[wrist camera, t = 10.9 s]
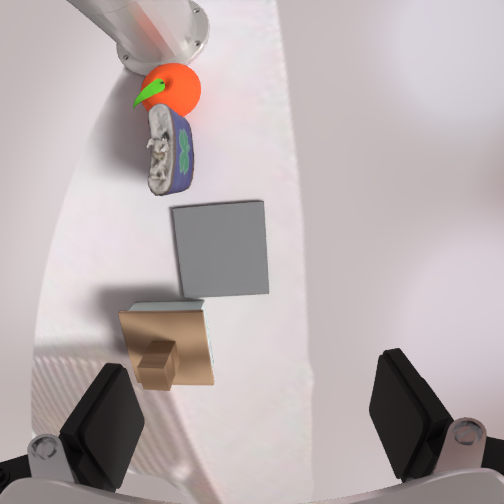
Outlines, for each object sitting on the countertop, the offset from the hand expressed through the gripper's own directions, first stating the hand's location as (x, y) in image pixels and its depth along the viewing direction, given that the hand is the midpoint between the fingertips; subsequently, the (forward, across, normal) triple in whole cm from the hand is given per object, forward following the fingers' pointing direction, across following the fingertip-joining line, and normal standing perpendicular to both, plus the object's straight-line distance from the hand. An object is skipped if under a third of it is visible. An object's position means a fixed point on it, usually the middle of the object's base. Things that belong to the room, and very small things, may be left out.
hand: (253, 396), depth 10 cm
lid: (+24, +12, +13) cm, 30 cm away
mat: (+28, +4, +2) cm, 29 cm away
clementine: (+28, +9, -18) cm, 35 cm away
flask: (+28, +8, -11) cm, 32 cm away
